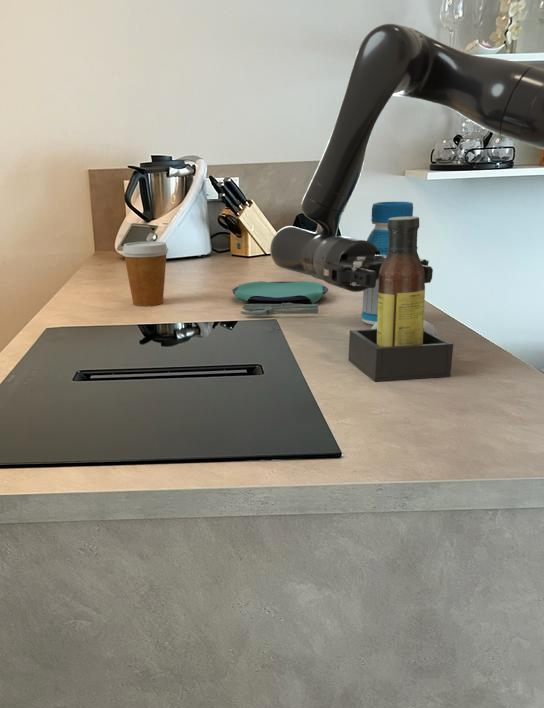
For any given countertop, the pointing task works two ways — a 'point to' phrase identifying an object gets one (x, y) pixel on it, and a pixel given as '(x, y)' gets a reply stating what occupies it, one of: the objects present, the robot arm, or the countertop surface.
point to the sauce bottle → (401, 287)
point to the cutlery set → (280, 296)
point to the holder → (400, 357)
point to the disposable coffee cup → (146, 271)
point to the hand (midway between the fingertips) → (402, 277)
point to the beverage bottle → (381, 248)
